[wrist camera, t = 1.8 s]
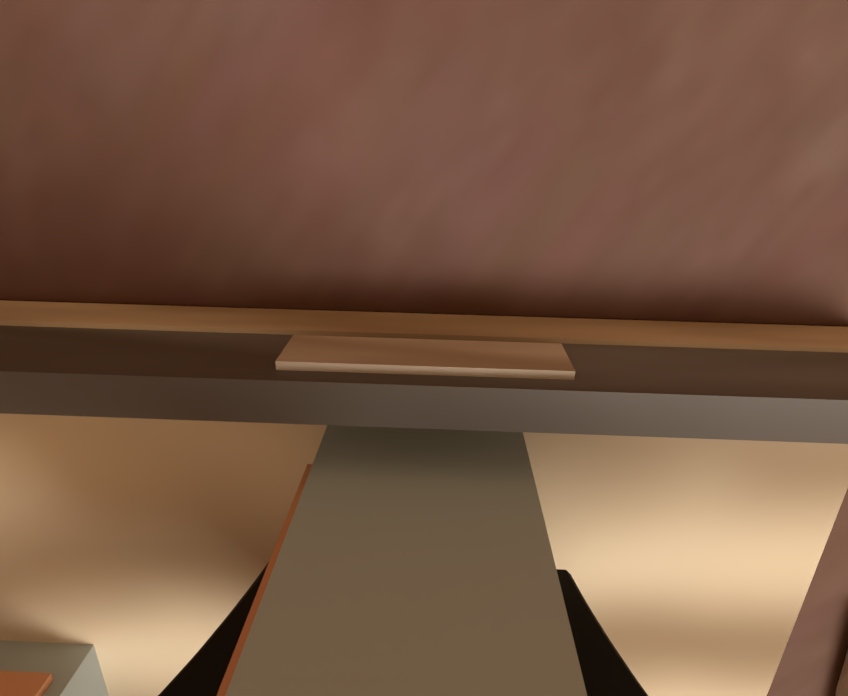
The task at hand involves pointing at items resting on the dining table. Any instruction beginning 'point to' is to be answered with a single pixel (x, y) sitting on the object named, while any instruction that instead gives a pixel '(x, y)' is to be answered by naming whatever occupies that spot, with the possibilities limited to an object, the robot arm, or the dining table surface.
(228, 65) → the dining table surface
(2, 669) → the faced carton
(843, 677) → the packaged product
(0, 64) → the dining table surface
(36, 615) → the shelf board
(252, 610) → the turn carton
